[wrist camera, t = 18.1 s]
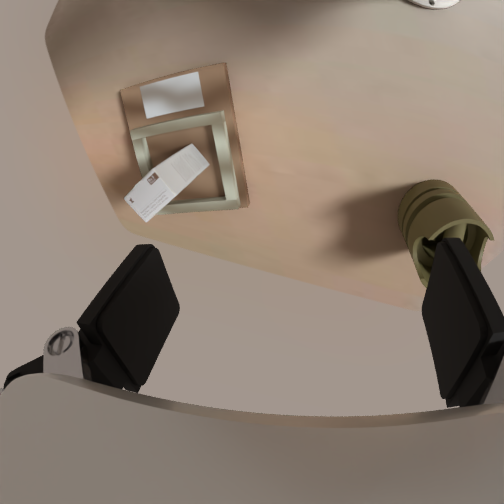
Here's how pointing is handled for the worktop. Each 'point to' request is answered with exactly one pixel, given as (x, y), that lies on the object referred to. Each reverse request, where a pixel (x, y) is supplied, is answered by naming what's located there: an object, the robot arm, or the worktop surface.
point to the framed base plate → (190, 135)
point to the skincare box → (166, 182)
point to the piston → (439, 224)
